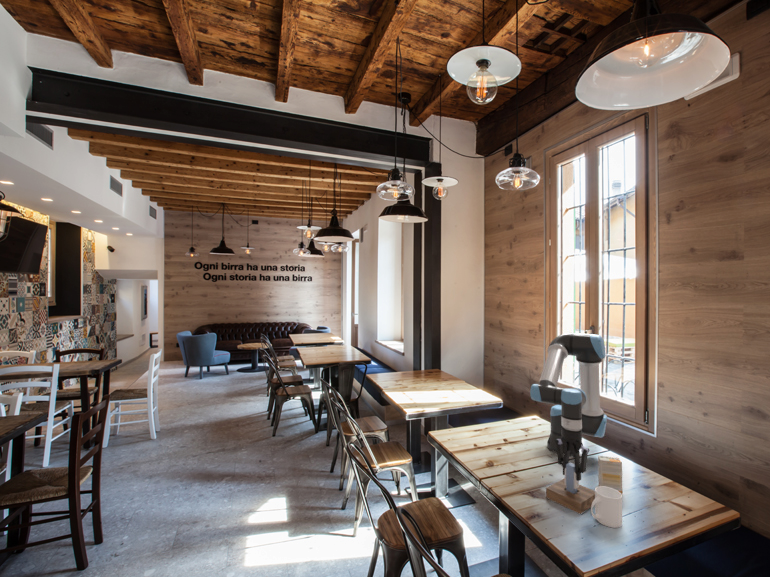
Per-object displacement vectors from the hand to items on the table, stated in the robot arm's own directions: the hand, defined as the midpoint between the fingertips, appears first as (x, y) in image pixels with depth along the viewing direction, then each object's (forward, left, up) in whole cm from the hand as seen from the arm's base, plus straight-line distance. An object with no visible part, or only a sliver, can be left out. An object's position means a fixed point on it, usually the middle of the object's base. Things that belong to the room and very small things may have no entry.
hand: (571, 485), depth 150 cm
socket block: (0, 0, -6) cm, 6 cm away
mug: (+4, +14, -6) cm, 16 cm away
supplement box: (-22, +5, -6) cm, 23 cm away
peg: (0, 0, -4) cm, 4 cm away
